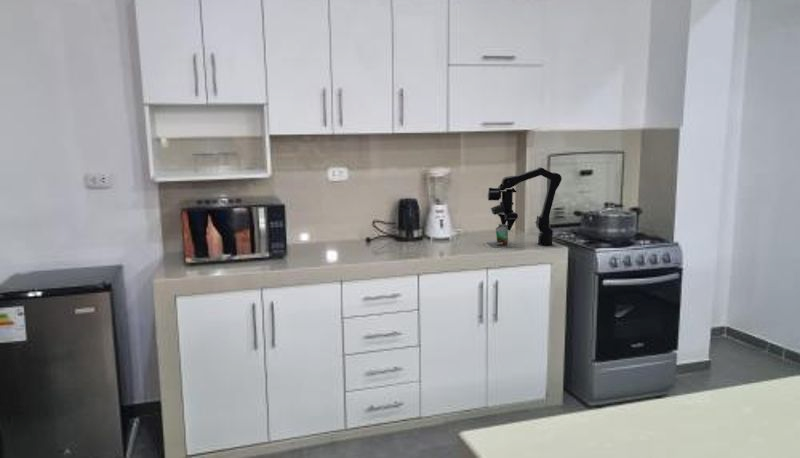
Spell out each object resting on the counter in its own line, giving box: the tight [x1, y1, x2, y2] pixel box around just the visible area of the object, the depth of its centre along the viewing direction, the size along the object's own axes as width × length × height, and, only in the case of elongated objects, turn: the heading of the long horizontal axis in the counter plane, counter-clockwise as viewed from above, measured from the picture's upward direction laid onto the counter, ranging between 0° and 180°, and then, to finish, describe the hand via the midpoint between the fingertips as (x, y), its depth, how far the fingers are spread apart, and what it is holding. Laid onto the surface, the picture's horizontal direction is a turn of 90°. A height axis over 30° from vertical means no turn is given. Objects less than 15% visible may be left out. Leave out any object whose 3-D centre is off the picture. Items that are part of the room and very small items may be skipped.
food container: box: [495, 223, 509, 246], centre depth 321 cm, size 12×6×10 cm, turn 163°
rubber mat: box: [486, 241, 506, 249], centre depth 321 cm, size 6×12×1 cm, turn 9°
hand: (506, 228), depth 321 cm, fingers open, 9 cm apart
